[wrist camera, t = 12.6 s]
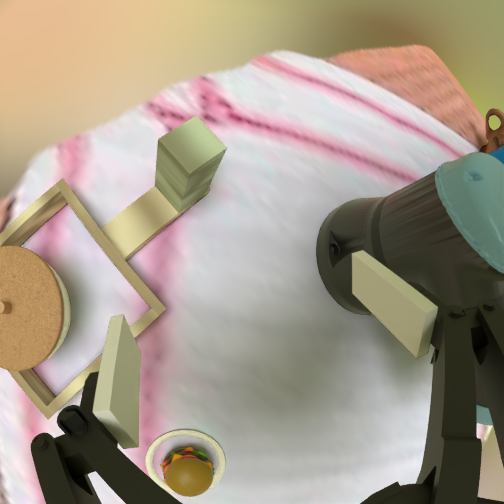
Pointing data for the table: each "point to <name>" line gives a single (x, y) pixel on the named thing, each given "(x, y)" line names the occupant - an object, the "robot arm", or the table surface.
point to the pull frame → (127, 229)
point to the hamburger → (186, 466)
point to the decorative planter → (494, 132)
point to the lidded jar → (30, 309)
